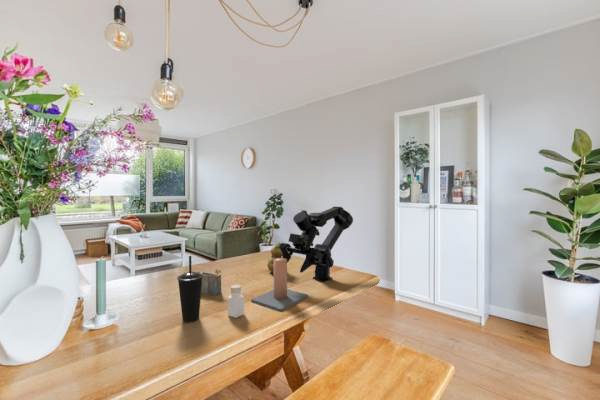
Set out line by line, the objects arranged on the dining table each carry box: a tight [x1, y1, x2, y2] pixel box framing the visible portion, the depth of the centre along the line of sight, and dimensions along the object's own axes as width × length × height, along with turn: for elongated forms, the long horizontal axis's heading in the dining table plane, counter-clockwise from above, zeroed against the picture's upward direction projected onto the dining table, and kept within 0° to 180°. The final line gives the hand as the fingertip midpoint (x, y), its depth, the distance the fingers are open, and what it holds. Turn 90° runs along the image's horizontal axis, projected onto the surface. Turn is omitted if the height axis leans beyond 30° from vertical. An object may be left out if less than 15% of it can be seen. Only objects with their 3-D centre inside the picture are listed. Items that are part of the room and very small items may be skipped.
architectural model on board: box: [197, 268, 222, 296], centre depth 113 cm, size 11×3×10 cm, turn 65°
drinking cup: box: [176, 255, 203, 323], centre depth 89 cm, size 8×8×20 cm
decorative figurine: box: [267, 241, 282, 274], centre depth 139 cm, size 10×8×15 cm
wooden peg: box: [273, 258, 288, 299], centre depth 105 cm, size 5×5×14 cm
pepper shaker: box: [227, 284, 245, 319], centre depth 92 cm, size 4×4×10 cm
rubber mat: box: [251, 288, 309, 312], centre depth 106 cm, size 16×14×1 cm
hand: (291, 269), depth 111 cm, fingers open, 9 cm apart
